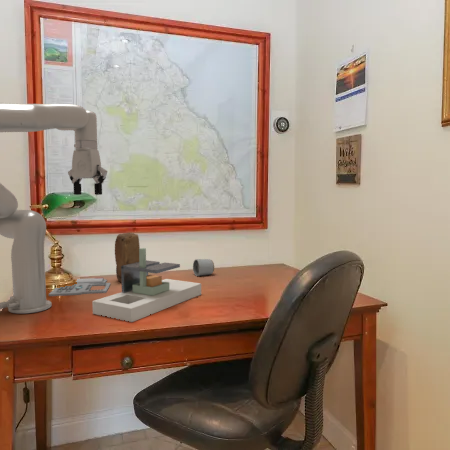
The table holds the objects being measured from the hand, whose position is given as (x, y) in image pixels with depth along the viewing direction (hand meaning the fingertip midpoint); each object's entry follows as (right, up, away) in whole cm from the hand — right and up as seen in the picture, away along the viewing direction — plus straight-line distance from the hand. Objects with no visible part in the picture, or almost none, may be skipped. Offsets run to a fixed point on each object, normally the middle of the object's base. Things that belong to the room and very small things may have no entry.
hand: (87, 194), depth 148 cm
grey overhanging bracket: (+25, -33, -11) cm, 43 cm away
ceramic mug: (+39, -33, +35) cm, 63 cm away
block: (+9, -35, +22) cm, 42 cm away
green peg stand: (+25, -33, -11) cm, 43 cm away
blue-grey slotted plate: (-6, -36, +12) cm, 39 cm away
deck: (+25, -37, -11) cm, 46 cm away
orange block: (+25, -33, -11) cm, 43 cm away
